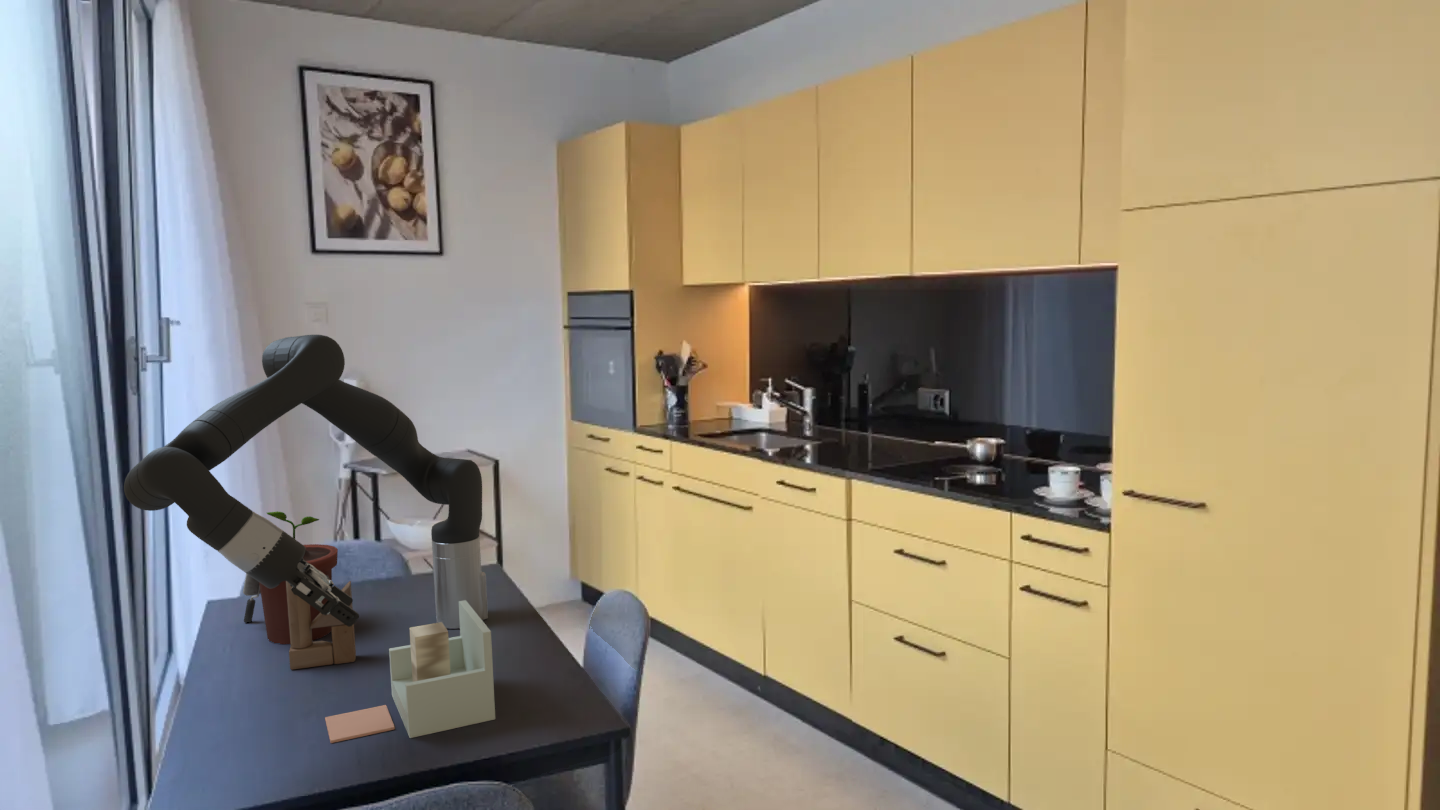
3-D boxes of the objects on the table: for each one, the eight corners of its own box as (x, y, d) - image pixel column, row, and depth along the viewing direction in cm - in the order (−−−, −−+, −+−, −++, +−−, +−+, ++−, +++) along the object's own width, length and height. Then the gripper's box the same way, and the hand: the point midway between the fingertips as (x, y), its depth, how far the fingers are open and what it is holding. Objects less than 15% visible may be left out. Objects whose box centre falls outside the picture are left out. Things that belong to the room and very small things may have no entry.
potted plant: (247, 656, 174) (236, 523, 171) (243, 622, 193) (234, 502, 190) (349, 638, 182) (341, 511, 179) (336, 607, 201) (328, 492, 198)
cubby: (409, 738, 139) (404, 646, 138) (391, 695, 155) (386, 613, 153) (495, 719, 145) (490, 631, 144) (469, 680, 160) (465, 600, 159)
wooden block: (355, 662, 170) (348, 564, 168) (290, 671, 166) (282, 571, 164) (356, 655, 173) (349, 559, 171) (292, 663, 170) (285, 566, 168)
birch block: (418, 699, 146) (414, 637, 144) (413, 688, 150) (409, 627, 149) (451, 693, 148) (448, 631, 147) (445, 681, 152) (441, 622, 151)
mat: (330, 743, 138) (330, 740, 138) (325, 719, 146) (325, 717, 146) (394, 729, 142) (394, 726, 142) (386, 707, 150) (385, 704, 150)
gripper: (283, 539, 130) (375, 606, 137) (278, 519, 143) (363, 581, 150) (243, 583, 129) (339, 648, 135) (242, 558, 141) (329, 619, 148)
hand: (351, 612), depth 142 cm, fingers open, 8 cm apart
